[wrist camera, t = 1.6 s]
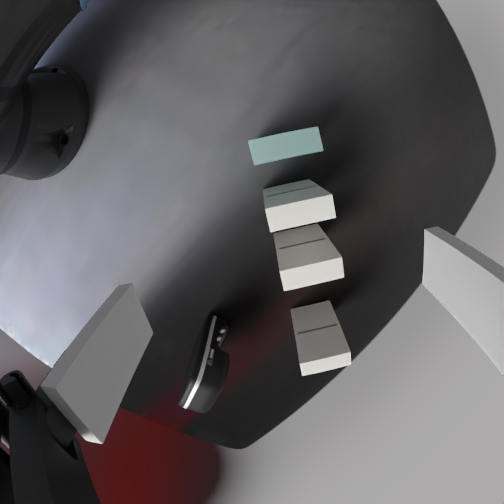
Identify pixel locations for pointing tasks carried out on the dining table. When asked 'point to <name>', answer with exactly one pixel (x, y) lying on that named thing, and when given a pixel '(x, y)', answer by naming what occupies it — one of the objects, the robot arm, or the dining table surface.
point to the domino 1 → (285, 145)
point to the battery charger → (206, 367)
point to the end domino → (319, 338)
